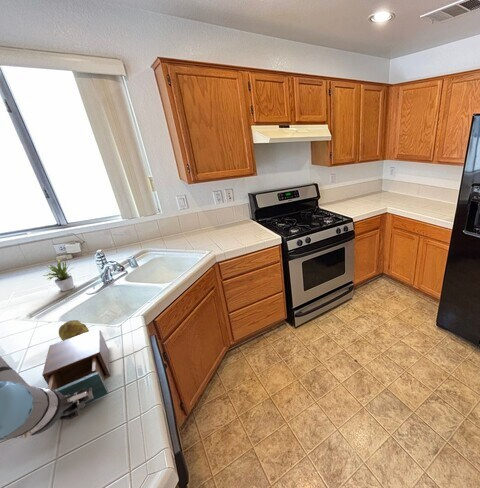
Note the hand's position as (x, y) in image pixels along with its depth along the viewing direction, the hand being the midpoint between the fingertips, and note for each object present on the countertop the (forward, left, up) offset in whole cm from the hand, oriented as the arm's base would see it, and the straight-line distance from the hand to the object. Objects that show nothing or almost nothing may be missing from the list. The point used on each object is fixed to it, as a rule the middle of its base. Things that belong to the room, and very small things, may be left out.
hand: (73, 411), depth 65 cm
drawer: (-5, +12, -5) cm, 14 cm away
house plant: (-56, +95, -7) cm, 111 cm away
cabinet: (-11, +22, -6) cm, 26 cm away
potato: (-22, +40, -7) cm, 46 cm away
